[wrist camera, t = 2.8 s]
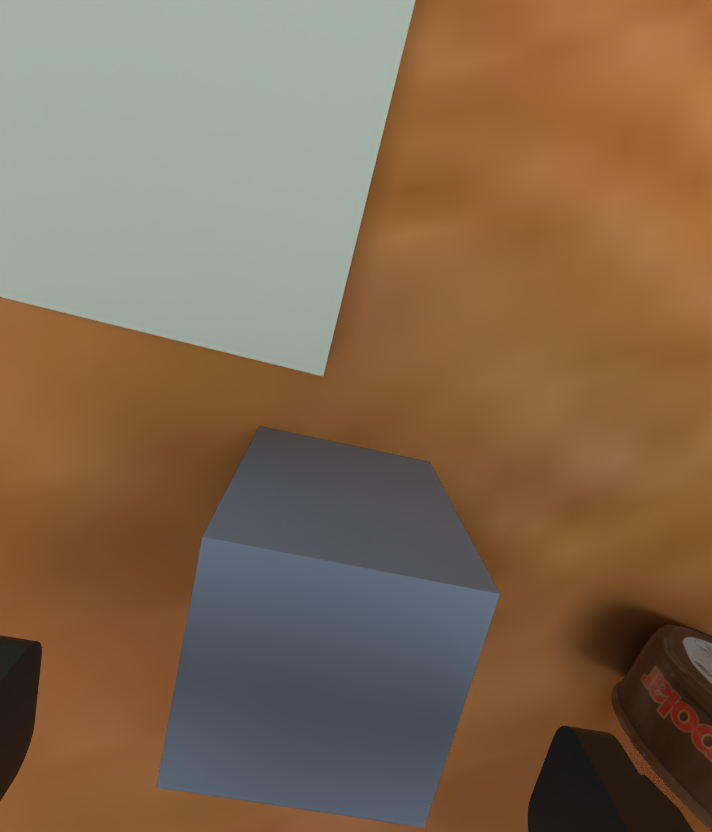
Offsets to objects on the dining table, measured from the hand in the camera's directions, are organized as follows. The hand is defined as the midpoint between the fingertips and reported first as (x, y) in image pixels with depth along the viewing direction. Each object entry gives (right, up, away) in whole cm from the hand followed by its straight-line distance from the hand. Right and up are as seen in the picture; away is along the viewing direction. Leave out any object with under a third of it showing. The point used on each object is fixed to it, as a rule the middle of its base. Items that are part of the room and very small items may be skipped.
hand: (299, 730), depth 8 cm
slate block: (0, +2, +8) cm, 8 cm away
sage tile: (-4, +13, +5) cm, 14 cm away
